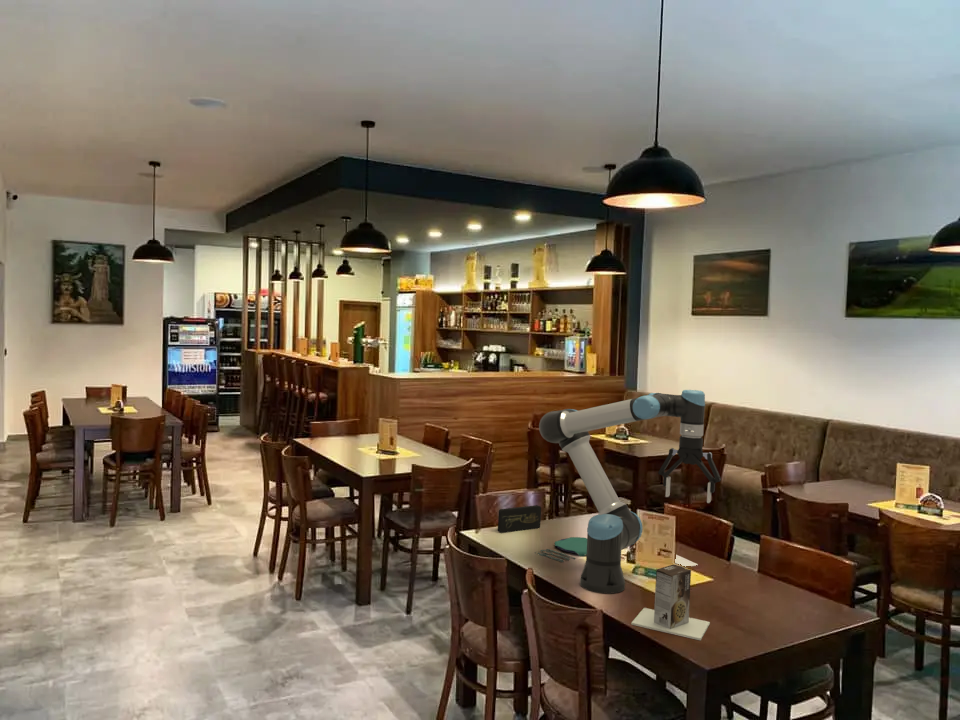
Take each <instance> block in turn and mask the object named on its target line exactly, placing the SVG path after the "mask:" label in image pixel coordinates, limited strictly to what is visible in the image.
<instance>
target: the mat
mask: <svg viewBox="0 0 960 720" xmlns="http://www.w3.org/2000/svg"><path fill="white" fill-rule="evenodd" d="M710 624H711V622H710V621H707V620H702V619H698V618H694V617H689V622H688V623H685V624H682V625H680V626H677V627H675V628H672V629H669V628H667V627H664V626H662V625H660V624H657V623H655V622H654V609H652V608H647V607H643V609H641V611H640V612H638V615H636V617H635V618H634V619H633V620H632V621H631V625H632V626H637V627H641V628H645V629H647V630H649V629H650V630H653V631H658V632H662V633H667V634H670V635H675V636H679V637H683V638H688V639H693V640H696V641H702V639H703V638H704V635H705V634H706V632H707V630H708V628H709V626H710Z"/></svg>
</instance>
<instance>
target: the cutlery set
mask: <svg viewBox="0 0 960 720" xmlns="http://www.w3.org/2000/svg"><path fill="white" fill-rule="evenodd" d="M554 547H555V548H558V549H559V550H562V551H564V552H568V553H572V554H577V556H579V557H585V556H587V537H581V536H579V537H578V536H575V537H574V536H573V537H572V536H571V537H567V538H562V539H559V540H556V541H554ZM542 551H546V552H542ZM536 552H537V551H536ZM536 552H534V554H536ZM554 553H555V554H554ZM538 554H539V556H540V557H545V556H546V557H547V558H549V559H552V560H554V561H558V562H561V563H564V559H565V560H567V561H570V560H571V559H573V560H576V557H573V556H569V555H568V554H566V553H563V552H559V551H556V550H554V549H550V548H546V549H540V552H538ZM538 554H537V555H538ZM554 556H555V557H554ZM546 557H545V558H546ZM558 557H559V558H558Z"/></svg>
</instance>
